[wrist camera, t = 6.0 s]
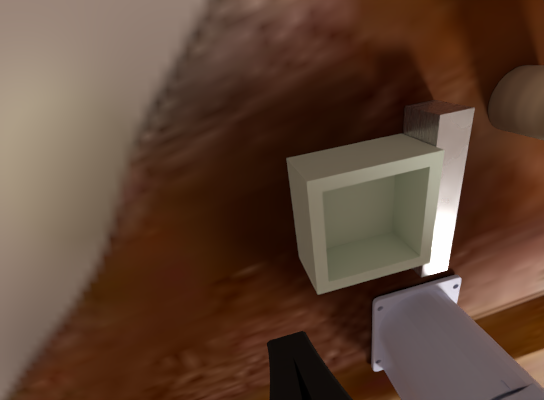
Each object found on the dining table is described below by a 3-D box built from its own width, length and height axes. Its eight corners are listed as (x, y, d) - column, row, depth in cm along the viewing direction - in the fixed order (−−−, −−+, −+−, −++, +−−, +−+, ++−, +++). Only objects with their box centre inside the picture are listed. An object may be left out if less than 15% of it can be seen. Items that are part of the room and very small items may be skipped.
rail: (419, 245, 23) (447, 269, 20) (395, 251, 23) (421, 277, 20) (434, 99, 18) (474, 107, 15) (404, 105, 18) (440, 114, 15)
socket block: (393, 230, 22) (429, 263, 19) (298, 255, 21) (317, 294, 18) (398, 132, 19) (444, 149, 15) (285, 156, 18) (306, 181, 14)
